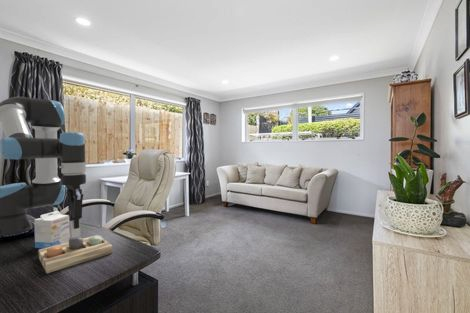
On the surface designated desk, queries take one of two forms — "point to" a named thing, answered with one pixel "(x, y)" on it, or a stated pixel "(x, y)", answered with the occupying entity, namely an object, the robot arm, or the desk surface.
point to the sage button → (95, 240)
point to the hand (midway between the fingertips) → (75, 236)
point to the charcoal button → (75, 242)
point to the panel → (74, 255)
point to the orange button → (54, 251)
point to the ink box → (51, 230)
